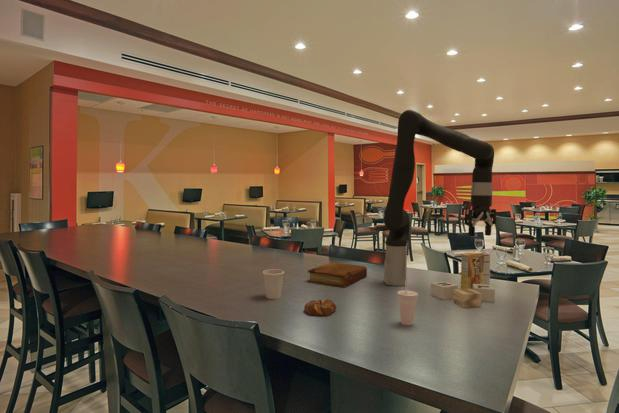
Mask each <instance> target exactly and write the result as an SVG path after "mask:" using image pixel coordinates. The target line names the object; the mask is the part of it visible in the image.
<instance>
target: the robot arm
mask: <svg viewBox="0 0 619 413" xmlns="http://www.w3.org/2000/svg"><path fill="white" fill-rule="evenodd" d="M397 121H398V122H397V137H396V138H397V140H396V146H395V147H396V148H395V151H394V152H395V153H394V160H393V163H392V164H393V165H392V171H391V179H390V185H389V191H388V192H389V193H388V199H387V203H386V207H385V210H384V212H383V224H384V227H385V228H386V229H387V230H389V232H388V235H387V237H386V238H385V255H384V256H385V258H384V259H385V260H384V262H383V263H384V264H383V282H384V284H385V285H387V286H396V287H402V286H405V279H407V269H408V268H407V265H408V263H407V259H408V240H409V238H410V225H411V224H410V223H411V222H410V215H409V213H408V211H407V210H405V209H404V208H405V206H404V205H405V201H406V197H407V195H408V193H409V191H410V188H411V186H412V184H413V181H414V178H415V176H414V175H415V170H416V157H415V148H414V145H415V139H416V135H418V136H423V137H425V138H429V139H431V140H434V141H436V142H437V143H439V144H441V145H443V146H445V147H447V148H449V149H451V150H454V151H455V152H460V153H463V154H465V155H466V156H469V157H471V158H473V159H474V168H473V169H472V173H471V174H472V175H471V176H472V177H471V187H470V206H471V208H470V209H468V208H466V209H465V211H464V223H463V224H464V225H465V226H468V236H469V237H475V236H476V235H475V234H476V225H477V223H479V222H480V221H482V222H483V223H484V225H485V226H484V235H485V236H491V234H492V228H493V225H496V224H497V209H496V208H495V209H494V208H490V207H492V205H493V167H494V159H495V149H494V147H493V145H492V144H489V143H488V142H486V141H483V140H481V139H478V138H474V137H472V136H469V135H467V134H465V133H464V132H460V131H458V130H455V129H452V128H450V127H447V126H442V125H440V124H437V123H435V122H433V121H431V120H430V119H428V118H426V117H424V116H423V115H422V114H421V113H420V112H417V111H416V110H413V109H407V110H404V111H403V112H402V113H401V114H400V116H399V118H398V120H397Z"/></svg>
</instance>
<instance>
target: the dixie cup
mask: <svg viewBox="0 0 619 413" xmlns="http://www.w3.org/2000/svg"><path fill="white" fill-rule="evenodd" d="M262 274H263V275H262V276H263V283H264V289H265V297H266V299H268V300H278V299H281V297H282V292H283V291H282V289H283V282H284V275H285V271H284V270H282V269H279V268H278V269H276V268H275V269H274V268H271V269H265V270H263V271H262Z"/></svg>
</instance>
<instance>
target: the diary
mask: <svg viewBox="0 0 619 413" xmlns="http://www.w3.org/2000/svg"><path fill="white" fill-rule="evenodd" d="M367 268H368V267H366V265H358V264H357V265H356V264H353V263H352V264H350V263H343V262H341V263H340V262H334V261H331V262H328V263H325V264H323V265H320V266H317V267H313V268H311V269H308V270H307V273H308V274H309V280H307V282H308V283H313V284H320V285H325V286H332V287H339V288H343V289H345V288H347V287H349V286H351V285H354V284H355V283H357V282H358V281H361V280H363V279H364V278H367V276H368V269H367Z"/></svg>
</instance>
